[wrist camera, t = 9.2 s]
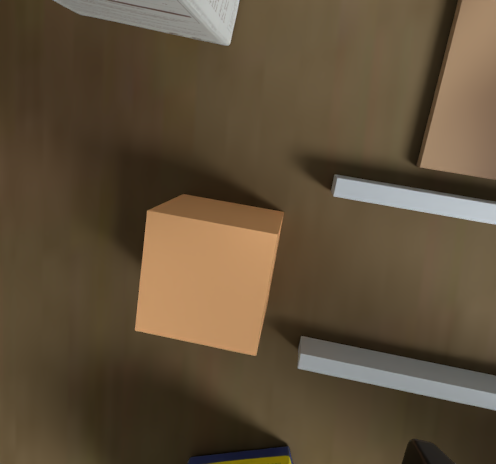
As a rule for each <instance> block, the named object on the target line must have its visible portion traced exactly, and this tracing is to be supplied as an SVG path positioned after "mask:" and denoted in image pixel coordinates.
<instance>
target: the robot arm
mask: <svg viewBox="0 0 496 464" xmlns="http://www.w3.org/2000/svg"><path fill="white" fill-rule="evenodd" d="M402 464H455V463H454V462H453V461H452V460H451V459H449V458H448V457H447V456H446V455H445V454H444V453H443V452H442V451H441V450H440V449H439V448H438V447H437V446H436V445H434V444H433V443H431V442H427V441H423V440H418V439H412V440H410V441H409V443H408V445H407V448H406V452H405V455H404V458H403V461H402Z"/></svg>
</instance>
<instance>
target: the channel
mask: <svg viewBox="0 0 496 464" xmlns="http://www.w3.org/2000/svg"><path fill="white" fill-rule="evenodd" d="M331 192H332V194H333V196H334V197H340V198H346V199H352V200H357V201H363V202H369V203H375V204H380V205H386V206H392V207H398V208H403V209H409V210H415V211H421V212H426V213H432V214H438V215H444V216H449V217H455V218H461V219H467V220H473V221H478V222H484V223H490V224H496V201H490V200H484V199H478V198H472V197H466V196H460V195H454V194H448V193H443V192H437V191H431V190H425V189H419V188H413V187H407V186H401V185H395V184H389V183H383V182H377V181H371V180H366V179H360V178H354V177H348V176H342V175H336V174H334V178H333V183H332V188H331ZM298 369H302V370H307V371H312V372H317V373H321V374H326V375H331V376H335V377H340V378H345V379H350V380H354V381H359V382H364V383H368V384H373V385H378V386H383V387H387V388H392V389H397V390H402V391H406V392H411V393H416V394H420V395H425V396H430V397H435V398H439V399H444V400H449V401H453V402H458V403H463V404H468V405H472V406H477V407H482V408H487V409H491V410H496V376H495V375H490V374H485V373H480V372H475V371H471V370H466V369H461V368H456V367H451V366H446V365H441V364H436V363H431V362H427V361H422V360H417V359H412V358H407V357H402V356H397V355H392V354H387V353H383V352H378V351H373V350H368V349H363V348H358V347H353V346H348V345H343V344H339V343H334V342H329V341H324V340H319V339H314V338H309V337H304V336H301V338H300V343H299V348H298Z"/></svg>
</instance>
